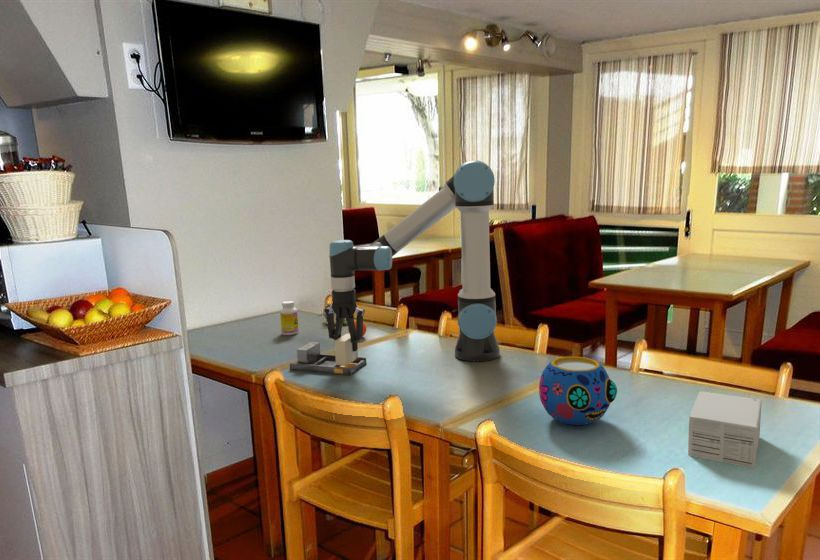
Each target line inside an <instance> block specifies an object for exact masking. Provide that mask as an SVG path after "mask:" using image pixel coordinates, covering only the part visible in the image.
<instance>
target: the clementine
mask: <svg viewBox="0 0 820 560" xmlns="http://www.w3.org/2000/svg"><path fill="white" fill-rule="evenodd" d="M354 323H355V328H356V319H354ZM347 331H348V332H349V328H348V330H347ZM366 333H367V325H366V324H365V322H364V321H363V337H364V336H365V334H366Z"/></svg>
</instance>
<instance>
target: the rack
mask: <svg viewBox="0 0 820 560" xmlns="http://www.w3.org/2000/svg"><path fill="white" fill-rule="evenodd" d="M296 356H297V357H296V358H297V360H296V361H294V362H290V363H289V370H290V371H297V370H299V372H307V371H309V372H310V373H318V372H319V373H320V374H321V373H322V374H329V373H330V374H331V375H340V374H341V375H343V376H352V375H354V374H355V373H356V372H357V371H359V370H360V369H361V368H363V367H364V366H366V365H367V357H366V356H358V358H357V359H356V360H354V361H353V362H351V363H349V364H348V365H346V366H341V365H336V357H335V354H332V353H331V354H330V353H329V354H327V353H321V343H320V342H316V341H315V342H314V341H310V342H308V343H306V344H304V345H302V346H301V347H299V348H297V349H296ZM362 366H363V367H362ZM359 368H360V369H359ZM358 369H359V370H358ZM355 371H356V372H355ZM354 372H355V373H354ZM319 373H318V374H319ZM351 374H352V375H351Z"/></svg>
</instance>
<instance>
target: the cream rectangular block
mask: <svg viewBox="0 0 820 560" xmlns="http://www.w3.org/2000/svg"><path fill="white" fill-rule="evenodd" d="M350 341H351V337H350V333H349V332H348V333H345V334H344V335H341V337H340V338H338V339H337V340H334V355H335V357H336V365H341V366H346V365H348V364H349V363H351V362H350V350H349V342H350ZM355 353H356V359H357V358H358V357H359V349H357V351H355Z"/></svg>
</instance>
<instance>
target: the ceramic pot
mask: <svg viewBox="0 0 820 560" xmlns="http://www.w3.org/2000/svg"><path fill="white" fill-rule="evenodd" d="M538 388H539V389H538V391H539V393H538V395H539V399H540V402H541V404H542V406H543V408H544V410H545V411H546V413H547V415H549V416H550V417H551V418H552V419H554V420H556V421H558V422H561V423H563V424H567V425H571V426H584V425H588V424H591V423H595V422H597V421H599V420H600V419H602V418H603V416H604V415H605V414H606V412H607V411H608V410H609V407H610V405H611V403H613V402H614V401H615V399H616V398H617V394H618V389H617V384H616V383H615V382H614V381H613V380H612V379H611V378H610V375H609V374H608V373H607V370H606V369H605V367H604V366H603V365H602V364H601V363H599V361H596V360H594V359H592V358H587V357H583V356H562V357H558V358H556V359H553V360H551V361H550V362H549V363H548V364H547V365H546V366H545V368H544V369H543V371H542V373H541V376H540V379H539V384H538Z"/></svg>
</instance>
